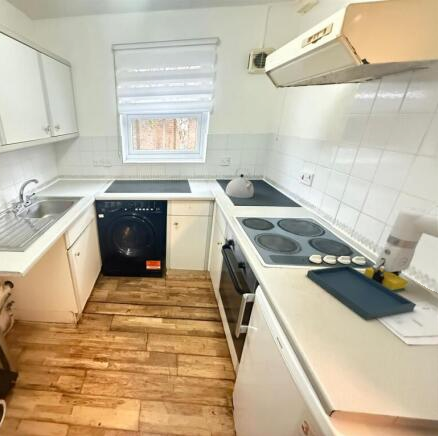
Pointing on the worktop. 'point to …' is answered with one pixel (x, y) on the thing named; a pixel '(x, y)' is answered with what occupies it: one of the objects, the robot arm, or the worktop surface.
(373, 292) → the tray
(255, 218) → the worktop surface
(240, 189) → the kettle
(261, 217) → the worktop surface
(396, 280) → the sponge
